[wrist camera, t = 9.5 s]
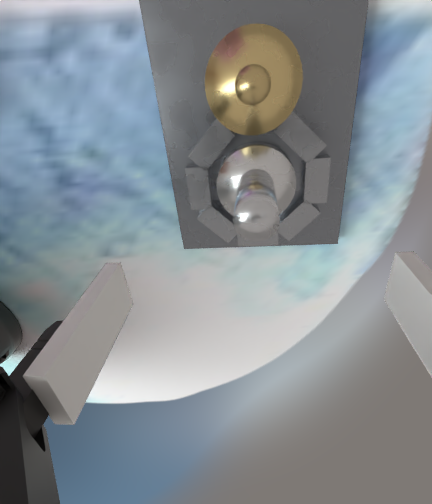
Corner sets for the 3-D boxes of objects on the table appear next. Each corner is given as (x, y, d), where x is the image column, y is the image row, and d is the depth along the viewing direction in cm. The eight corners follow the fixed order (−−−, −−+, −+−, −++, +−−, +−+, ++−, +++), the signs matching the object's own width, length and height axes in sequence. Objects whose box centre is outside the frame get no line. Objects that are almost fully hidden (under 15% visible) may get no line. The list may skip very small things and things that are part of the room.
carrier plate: (186, 242, 34) (181, 254, 31) (142, -12, 22) (130, -22, 20) (334, 236, 31) (340, 249, 29) (368, -50, 20) (382, -65, 18)
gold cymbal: (213, 133, 26) (206, 144, 22) (204, 34, 22) (193, 27, 18) (296, 126, 25) (304, 136, 21) (300, 21, 21) (310, 10, 17)
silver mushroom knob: (222, 217, 30) (212, 265, 23) (214, 146, 26) (198, 175, 19) (293, 213, 29) (306, 261, 22) (295, 138, 25) (311, 166, 18)
